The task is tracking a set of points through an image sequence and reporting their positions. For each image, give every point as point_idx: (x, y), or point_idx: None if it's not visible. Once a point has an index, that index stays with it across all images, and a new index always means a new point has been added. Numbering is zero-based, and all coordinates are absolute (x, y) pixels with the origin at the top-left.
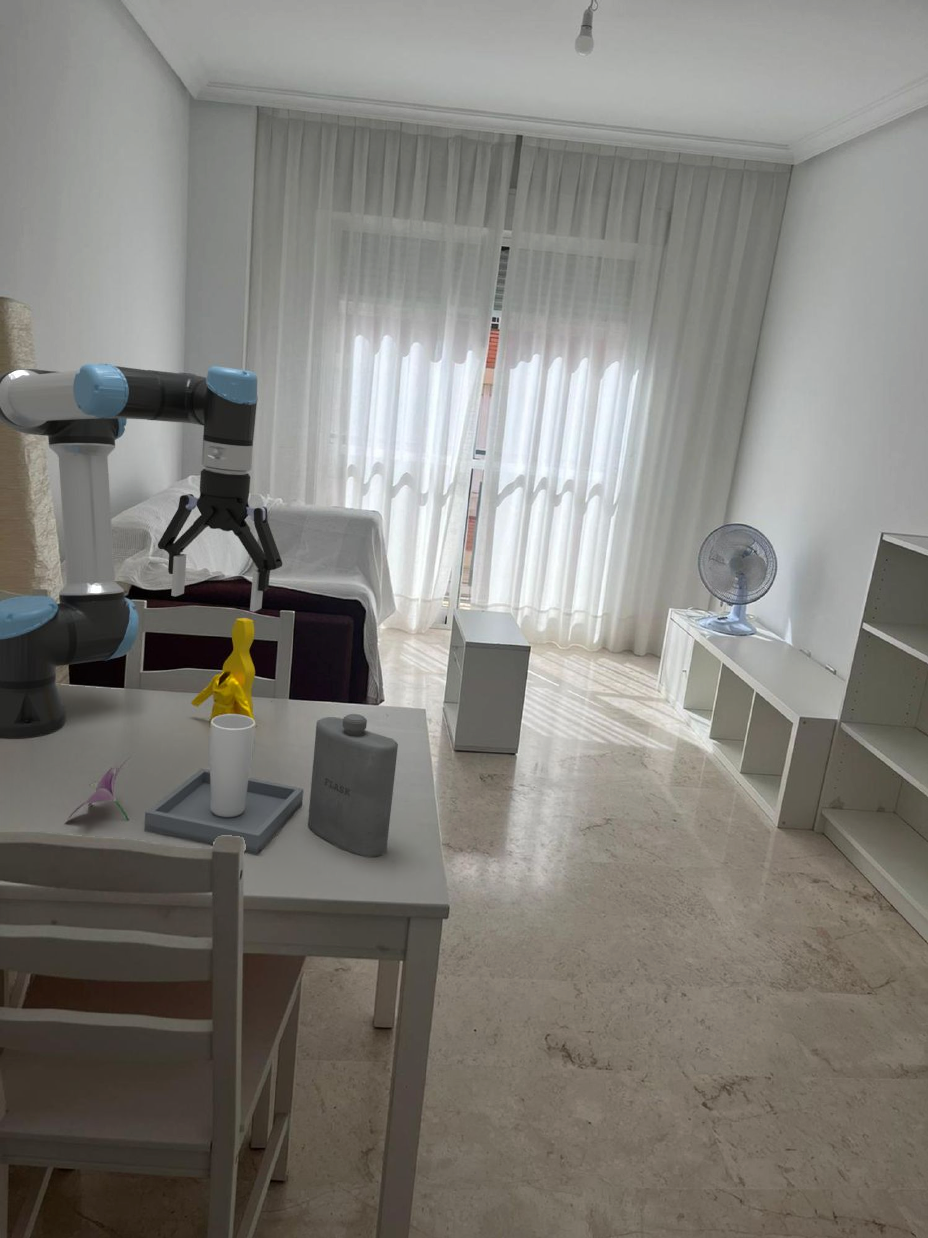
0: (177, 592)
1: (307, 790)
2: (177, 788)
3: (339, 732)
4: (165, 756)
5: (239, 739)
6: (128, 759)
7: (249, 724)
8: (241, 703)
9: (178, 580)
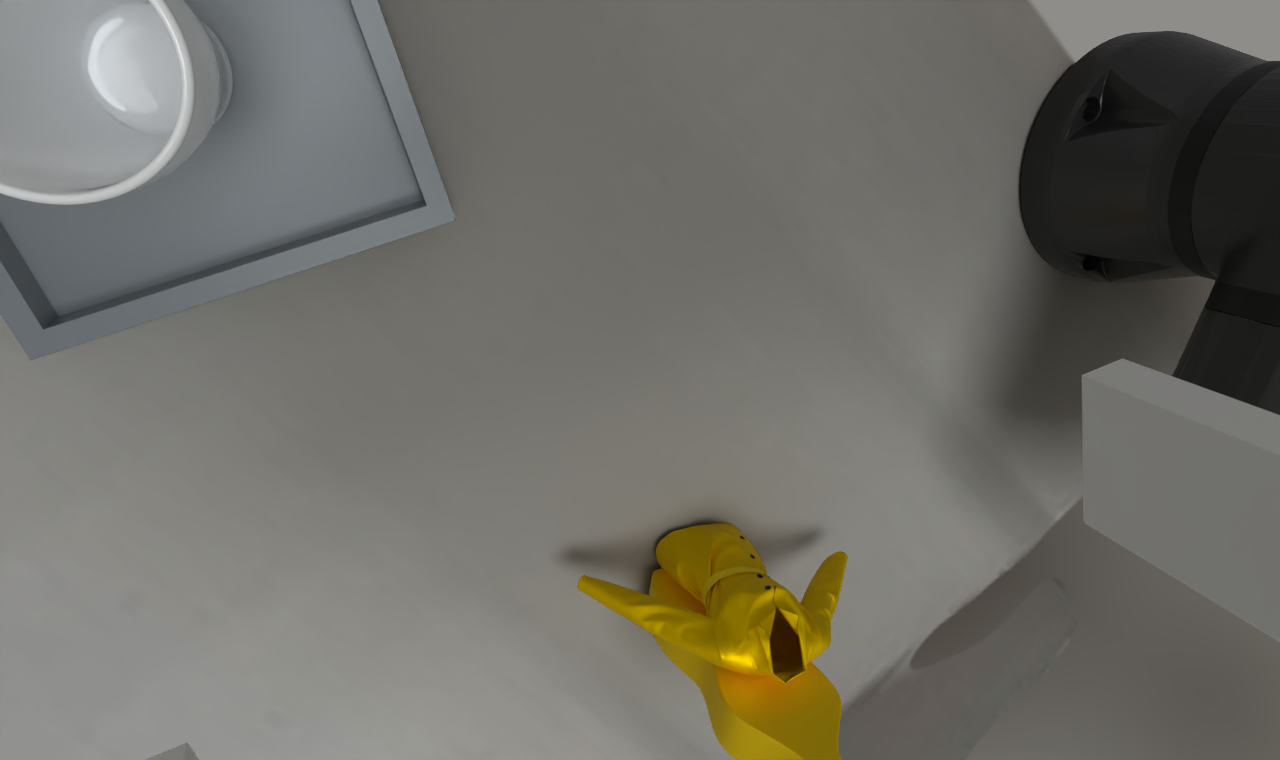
0: (1112, 418)
1: (152, 441)
2: (378, 18)
3: None
4: (688, 292)
5: None
6: None
7: (41, 186)
8: (667, 612)
9: (1247, 484)
